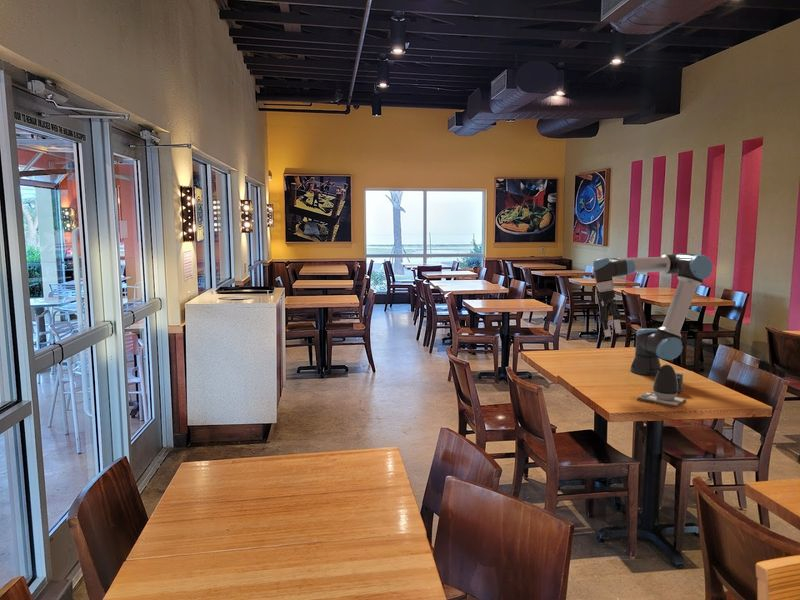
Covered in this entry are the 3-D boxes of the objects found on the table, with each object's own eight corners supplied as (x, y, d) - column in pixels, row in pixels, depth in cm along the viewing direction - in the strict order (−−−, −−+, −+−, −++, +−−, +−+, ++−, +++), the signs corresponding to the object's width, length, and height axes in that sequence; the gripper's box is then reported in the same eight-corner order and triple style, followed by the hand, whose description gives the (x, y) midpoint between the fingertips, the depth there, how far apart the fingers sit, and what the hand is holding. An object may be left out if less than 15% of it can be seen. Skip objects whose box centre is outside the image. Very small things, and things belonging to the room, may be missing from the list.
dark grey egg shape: (647, 395, 268) (649, 362, 266) (669, 395, 269) (672, 361, 267) (659, 402, 258) (661, 367, 256) (682, 402, 259) (685, 367, 257)
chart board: (648, 393, 275) (648, 390, 275) (685, 401, 265) (685, 398, 265) (637, 400, 265) (637, 397, 265) (675, 408, 255) (675, 405, 254)
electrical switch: (682, 391, 280) (683, 372, 278) (680, 395, 276) (682, 375, 274) (661, 388, 285) (662, 369, 283) (659, 391, 281) (659, 372, 279)
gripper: (608, 290, 300) (615, 332, 300) (588, 293, 281) (595, 338, 281) (623, 287, 296) (630, 330, 295) (603, 291, 277) (611, 337, 276)
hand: (613, 334), depth 288 cm, fingers open, 13 cm apart
